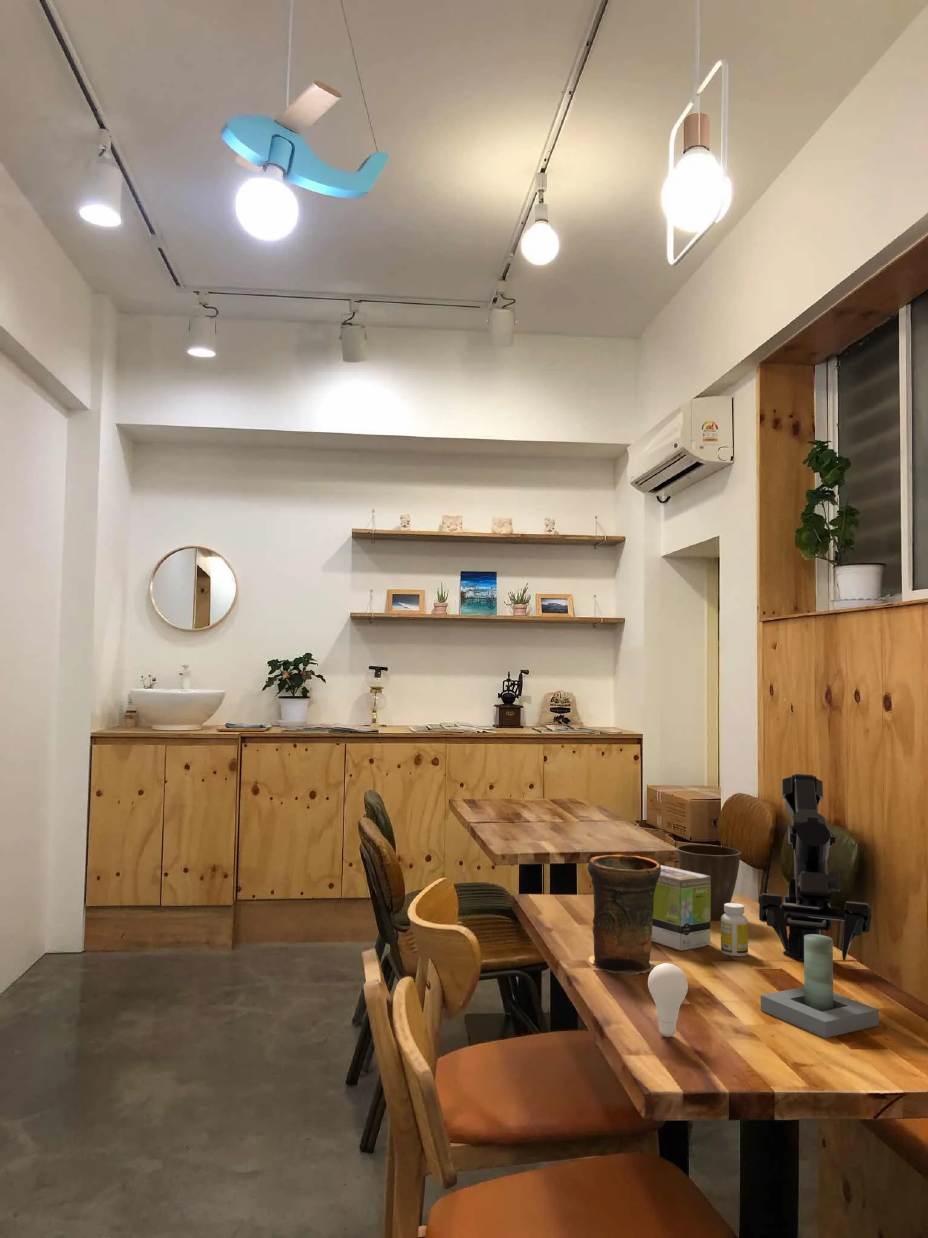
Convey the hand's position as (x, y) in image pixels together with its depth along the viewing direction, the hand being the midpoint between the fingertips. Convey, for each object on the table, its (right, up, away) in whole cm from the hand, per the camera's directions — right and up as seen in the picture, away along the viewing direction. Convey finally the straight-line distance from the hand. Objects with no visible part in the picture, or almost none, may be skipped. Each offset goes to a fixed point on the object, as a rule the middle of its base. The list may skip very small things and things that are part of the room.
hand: (815, 956), depth 152 cm
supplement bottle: (-5, -11, +28) cm, 31 cm away
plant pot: (-3, -13, +57) cm, 59 cm away
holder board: (-2, -8, -7) cm, 10 cm away
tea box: (-17, -11, +37) cm, 42 cm away
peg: (-2, -8, -7) cm, 10 cm away
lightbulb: (-30, -6, -17) cm, 35 cm away
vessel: (-30, -9, +20) cm, 37 cm away
